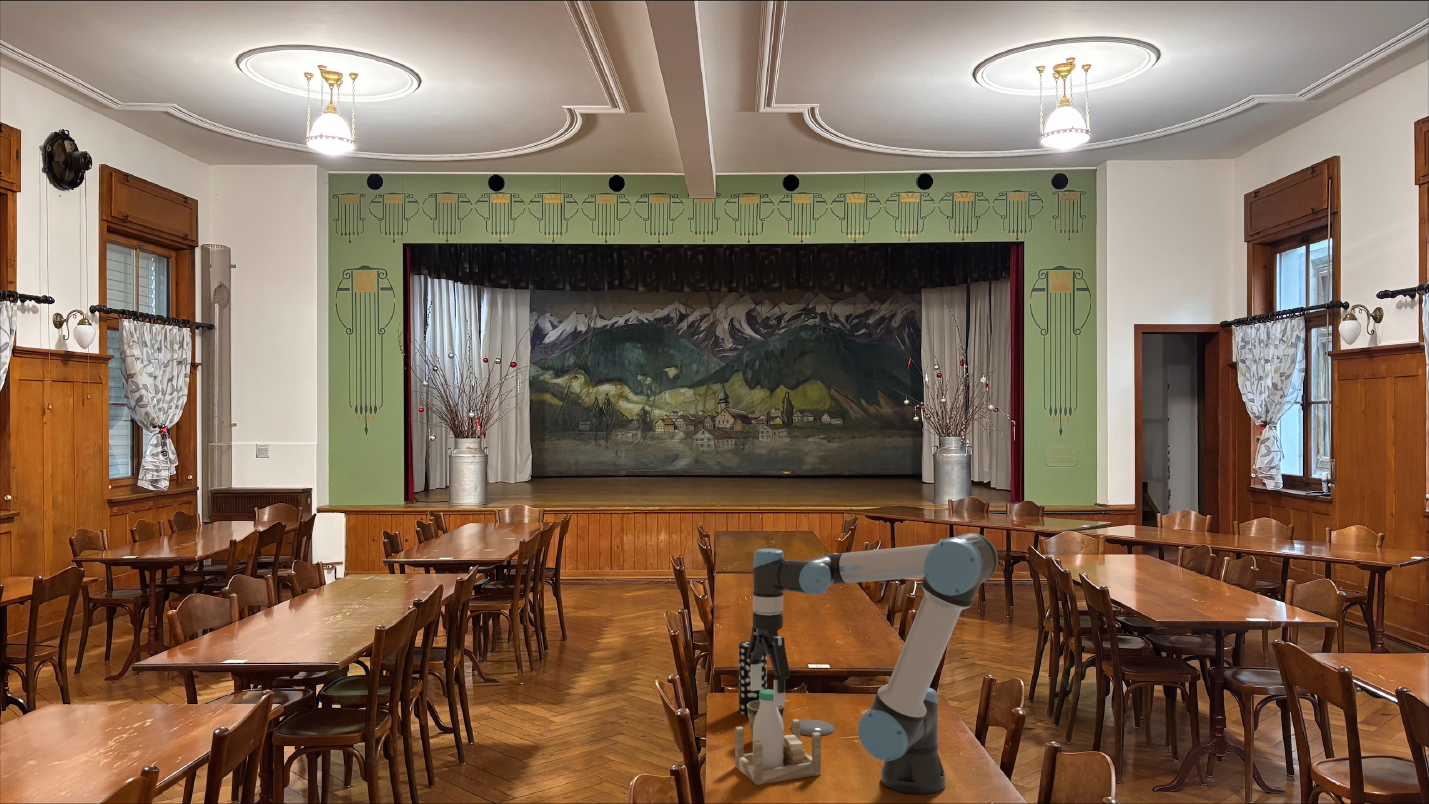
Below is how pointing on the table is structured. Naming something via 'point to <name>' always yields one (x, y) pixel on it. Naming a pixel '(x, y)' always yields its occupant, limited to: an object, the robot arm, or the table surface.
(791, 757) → the offcut stack
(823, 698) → the table surface
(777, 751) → the milk bottle
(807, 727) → the grey round disc
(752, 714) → the ceramic cup
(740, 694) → the spotted tube
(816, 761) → the rack
